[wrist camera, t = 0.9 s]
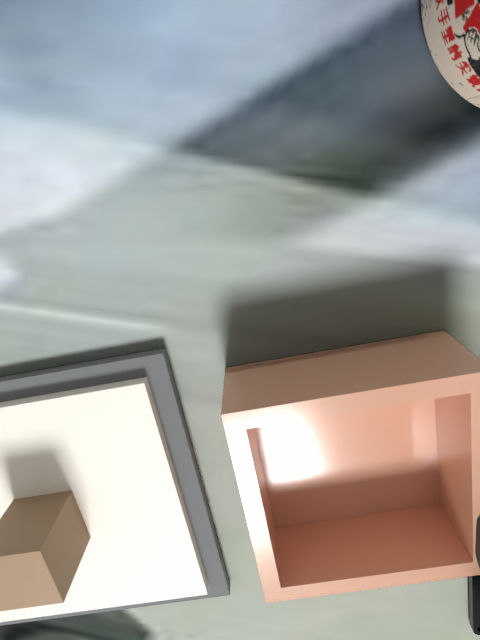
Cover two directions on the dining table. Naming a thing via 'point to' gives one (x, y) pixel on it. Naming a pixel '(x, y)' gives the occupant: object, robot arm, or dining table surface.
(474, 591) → the robot arm
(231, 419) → the open box
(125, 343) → the dining table surface
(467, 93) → the teacup with lid
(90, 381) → the mat
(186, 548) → the cover board
